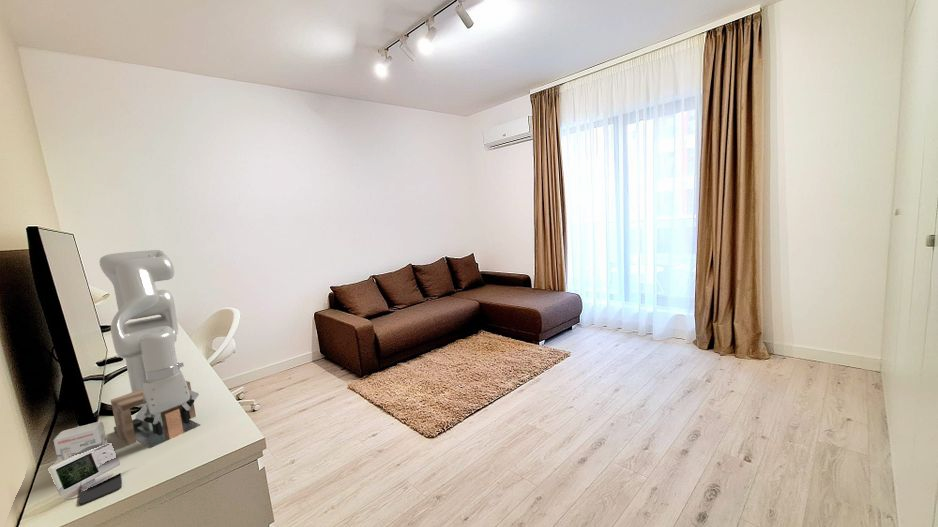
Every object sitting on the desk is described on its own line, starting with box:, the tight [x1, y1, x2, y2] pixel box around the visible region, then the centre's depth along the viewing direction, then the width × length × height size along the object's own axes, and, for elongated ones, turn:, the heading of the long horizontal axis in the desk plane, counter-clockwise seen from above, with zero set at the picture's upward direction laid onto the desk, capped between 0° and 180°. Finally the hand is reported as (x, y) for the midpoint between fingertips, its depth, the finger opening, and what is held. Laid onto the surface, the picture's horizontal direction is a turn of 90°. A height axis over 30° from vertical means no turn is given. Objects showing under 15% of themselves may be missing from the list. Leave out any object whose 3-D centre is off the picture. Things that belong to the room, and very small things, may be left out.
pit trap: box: [113, 418, 142, 435], centre depth 121 cm, size 4×16×3 cm, turn 149°
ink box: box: [53, 421, 108, 463], centre depth 98 cm, size 9×5×12 cm, turn 122°
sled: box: [134, 407, 201, 449], centre depth 114 cm, size 18×13×9 cm
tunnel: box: [110, 380, 197, 446], centre depth 116 cm, size 10×17×14 cm, turn 149°
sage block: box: [142, 412, 163, 431], centre depth 116 cm, size 6×6×6 cm
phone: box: [78, 472, 123, 506], centre depth 92 cm, size 7×1×15 cm
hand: (173, 427), depth 110 cm, fingers open, 6 cm apart
